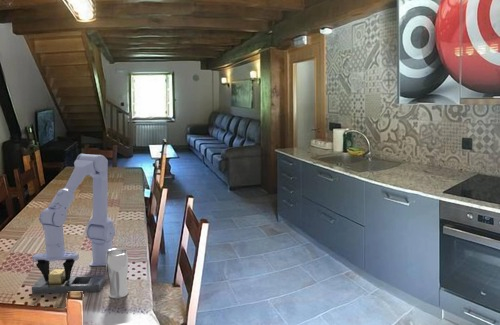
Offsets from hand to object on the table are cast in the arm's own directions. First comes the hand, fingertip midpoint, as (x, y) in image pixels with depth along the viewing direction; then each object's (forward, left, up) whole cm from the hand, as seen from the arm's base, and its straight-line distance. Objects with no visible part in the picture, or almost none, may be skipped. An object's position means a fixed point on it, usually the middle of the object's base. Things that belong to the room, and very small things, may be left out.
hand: (57, 280), depth 138 cm
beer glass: (+6, +22, -3) cm, 23 cm away
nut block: (0, 0, -3) cm, 3 cm away
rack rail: (0, +4, -3) cm, 5 cm away
